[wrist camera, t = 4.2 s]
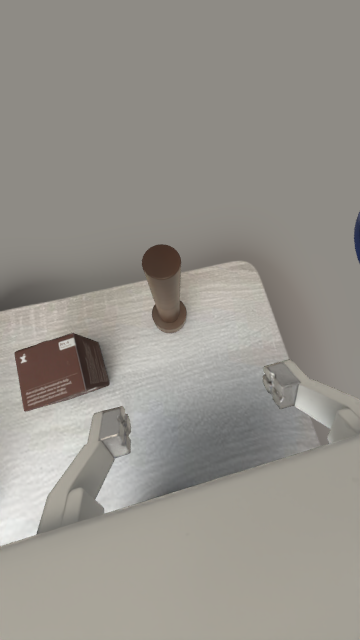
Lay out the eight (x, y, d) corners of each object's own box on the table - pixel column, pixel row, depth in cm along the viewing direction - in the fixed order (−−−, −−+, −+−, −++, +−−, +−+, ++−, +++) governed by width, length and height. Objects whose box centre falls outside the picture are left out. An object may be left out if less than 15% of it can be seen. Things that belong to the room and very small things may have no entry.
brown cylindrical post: (184, 301, 29) (190, 230, 14) (187, 331, 28) (198, 289, 13) (153, 304, 29) (126, 234, 14) (155, 334, 28) (129, 295, 13)
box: (64, 401, 26) (21, 413, 19) (55, 355, 27) (11, 351, 20) (111, 385, 27) (86, 391, 19) (99, 341, 28) (73, 331, 21)
